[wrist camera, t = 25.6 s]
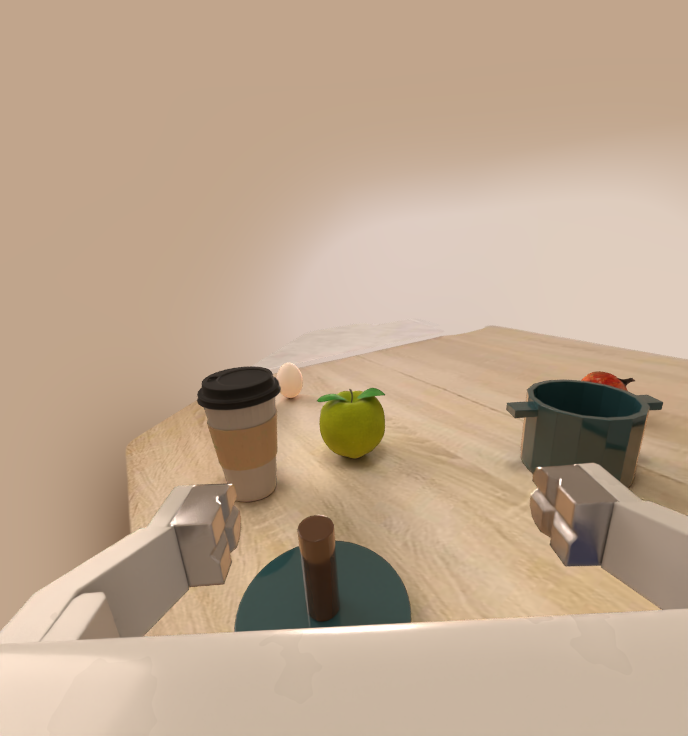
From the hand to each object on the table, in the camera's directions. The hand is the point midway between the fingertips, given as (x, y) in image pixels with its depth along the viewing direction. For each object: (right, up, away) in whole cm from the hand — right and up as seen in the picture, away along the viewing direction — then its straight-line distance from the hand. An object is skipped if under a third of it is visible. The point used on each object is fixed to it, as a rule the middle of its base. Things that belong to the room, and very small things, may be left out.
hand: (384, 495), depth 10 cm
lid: (-3, -16, +19) cm, 24 cm away
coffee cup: (-12, -12, +37) cm, 41 cm away
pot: (+29, -9, +38) cm, 48 cm away
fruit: (0, -9, +44) cm, 44 cm away
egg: (-12, -3, +65) cm, 66 cm away
